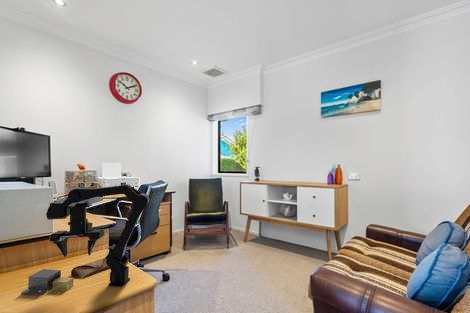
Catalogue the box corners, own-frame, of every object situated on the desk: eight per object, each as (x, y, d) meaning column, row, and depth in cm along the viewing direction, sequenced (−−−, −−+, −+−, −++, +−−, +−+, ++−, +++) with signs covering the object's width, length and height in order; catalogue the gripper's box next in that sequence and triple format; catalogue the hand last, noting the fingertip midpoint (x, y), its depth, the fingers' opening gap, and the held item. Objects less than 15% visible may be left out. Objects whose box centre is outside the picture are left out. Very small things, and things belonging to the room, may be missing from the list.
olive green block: (73, 286, 98) (73, 277, 98) (66, 291, 95) (66, 282, 95) (59, 285, 99) (60, 277, 99) (52, 290, 95) (52, 281, 95)
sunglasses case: (80, 280, 103) (77, 265, 105) (73, 284, 106) (69, 269, 108) (118, 265, 119) (114, 252, 121) (111, 269, 122) (107, 256, 124)
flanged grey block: (65, 280, 103) (66, 267, 103) (40, 295, 91) (41, 281, 91) (48, 279, 104) (49, 266, 104) (21, 294, 92) (21, 279, 92)
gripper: (109, 213, 108) (109, 247, 108) (64, 214, 106) (64, 250, 105) (98, 219, 97) (98, 257, 97) (48, 220, 95) (48, 260, 94)
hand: (77, 255), depth 99 cm, fingers open, 9 cm apart
